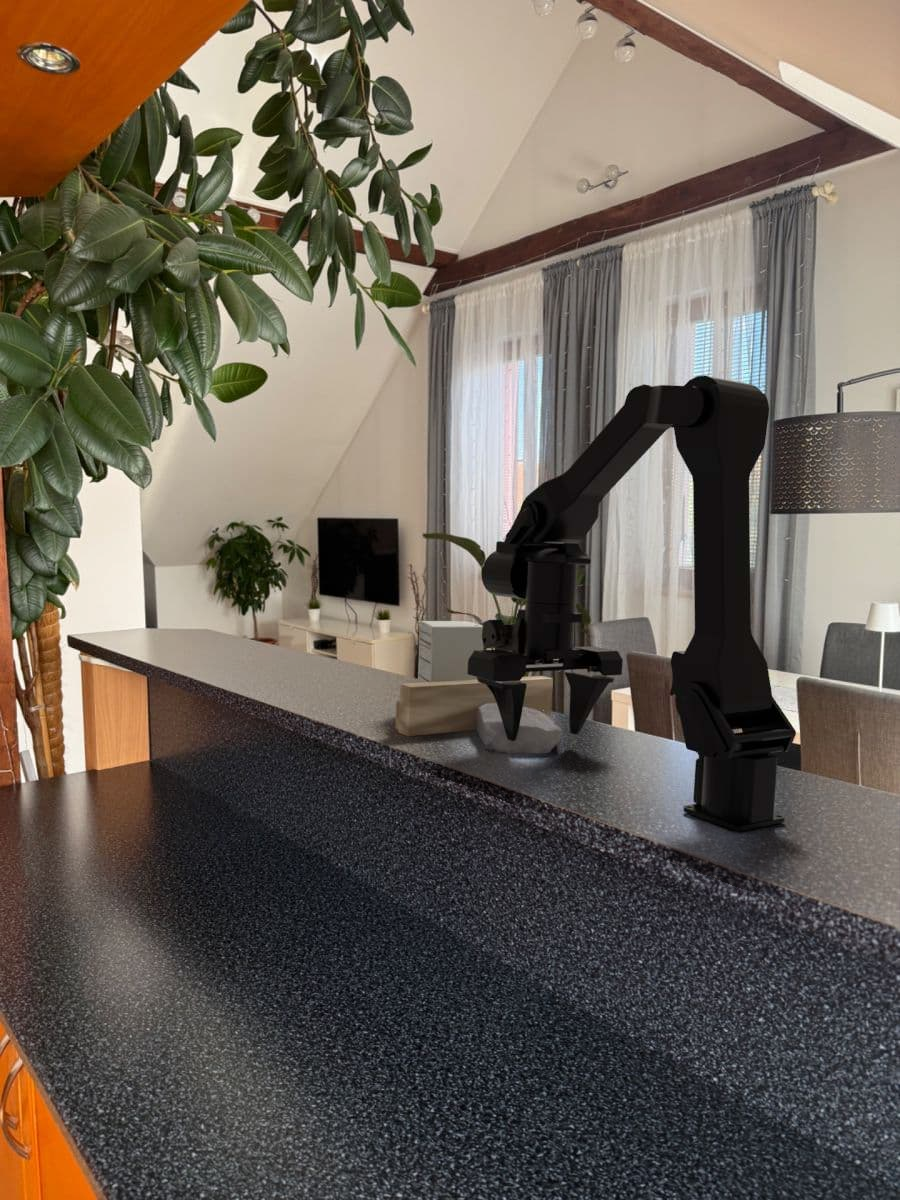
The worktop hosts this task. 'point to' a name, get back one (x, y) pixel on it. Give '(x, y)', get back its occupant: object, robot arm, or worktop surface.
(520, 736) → the stone block
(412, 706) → the block
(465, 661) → the supplement box
